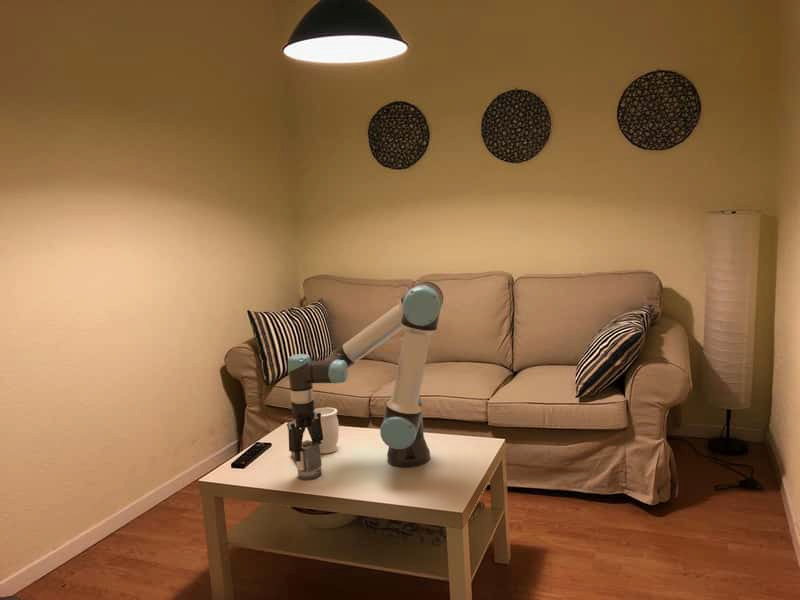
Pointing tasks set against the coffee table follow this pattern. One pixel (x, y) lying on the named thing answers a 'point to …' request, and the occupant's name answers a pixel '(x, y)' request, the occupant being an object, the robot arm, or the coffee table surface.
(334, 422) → the jar
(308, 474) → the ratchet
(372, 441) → the coffee table surface
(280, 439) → the coffee table surface
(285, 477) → the coffee table surface
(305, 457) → the grey block
